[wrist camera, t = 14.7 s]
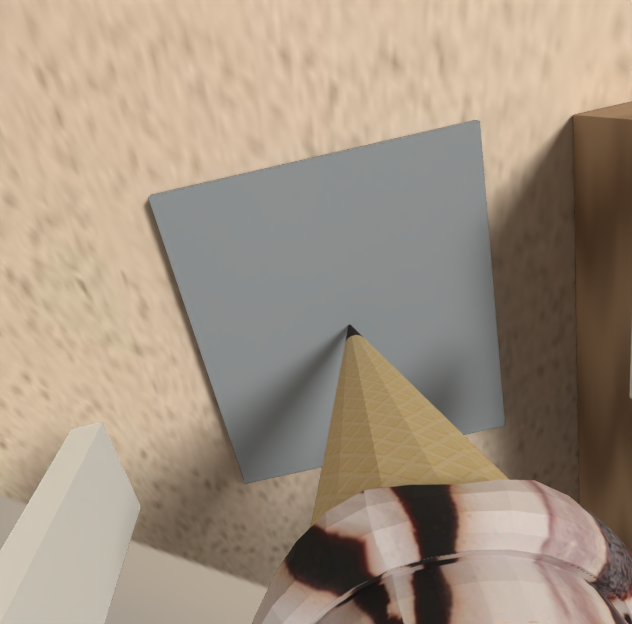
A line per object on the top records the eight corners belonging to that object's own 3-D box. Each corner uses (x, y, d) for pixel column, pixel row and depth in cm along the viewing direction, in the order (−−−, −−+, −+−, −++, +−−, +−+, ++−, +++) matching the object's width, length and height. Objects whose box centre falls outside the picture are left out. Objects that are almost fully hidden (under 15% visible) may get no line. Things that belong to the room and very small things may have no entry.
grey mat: (500, 419, 20) (505, 425, 20) (245, 476, 20) (245, 483, 20) (474, 120, 16) (479, 120, 16) (150, 194, 16) (147, 196, 16)
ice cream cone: (348, 426, 19) (529, 1275, 5) (226, 332, 18) (39, 1238, 4) (466, 319, 18) (1102, 1083, 4) (346, 205, 16) (759, 879, 2)
